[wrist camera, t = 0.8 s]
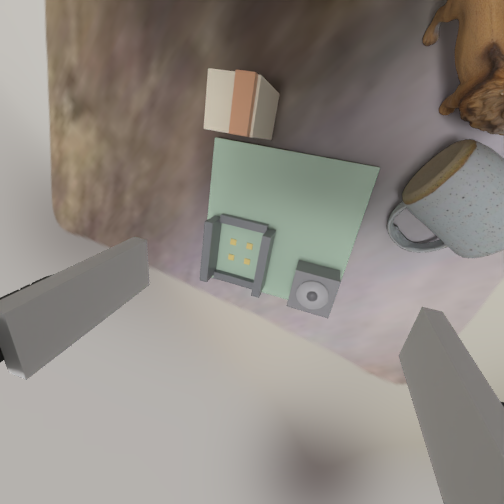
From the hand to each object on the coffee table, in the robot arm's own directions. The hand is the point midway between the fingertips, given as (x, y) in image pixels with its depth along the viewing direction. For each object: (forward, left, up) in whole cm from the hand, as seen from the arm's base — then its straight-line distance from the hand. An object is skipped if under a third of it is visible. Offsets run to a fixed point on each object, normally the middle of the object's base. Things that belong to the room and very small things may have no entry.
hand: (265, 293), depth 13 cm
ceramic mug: (-3, +13, -21) cm, 25 cm away
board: (+3, -3, -21) cm, 21 cm away
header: (+7, -7, -19) cm, 22 cm away
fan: (+9, +3, -19) cm, 22 cm away
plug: (-9, -8, -21) cm, 24 cm away
